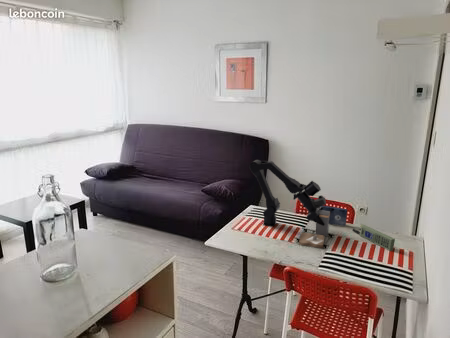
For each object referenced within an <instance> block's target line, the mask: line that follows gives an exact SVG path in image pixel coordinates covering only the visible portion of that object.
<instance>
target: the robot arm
mask: <svg viewBox="0 0 450 338" xmlns="http://www.w3.org/2000/svg"><path fill="white" fill-rule="evenodd" d="M249 170H250V171H251V173H252V174H253V175H254V177H255V178H256V180H257V182H258V184H259V187H260V190H261V191H262V194H263V196H264V198H265V206H266V209H265V210H264V211H263V212H262V214H263V223H262V225H263V226H269V227H275V225H276V224H277V216H276V213H277V212H278V210H279V209H280V207H281V203H280V201H279V198H278V197H275V196H274V195H273V192H272V190H271V188H270V185H269V183H268V181H267V179H266V176H265V171H264V170H269V172H271V173H272V174H273V175H274V176H276V177H277V179H279V180H280V181H281V182H282V183H283V184H284V185H285V188H286V189H287V190H288V191H289V193H291V194H293V198H292V199H293V200H294V201H295V200H296V199H298V201H299V203H301V204H302V207H303V209H304V208H305V210H307V213H308V214H307V215H306V220H307V221H308V222H310V221H311V222H314V223H315V224H316V223H318V224H320V225H322V226H324V225H325V224H324V222H323V221H322V219H321V218H320V213H318V211H319V210H323V206H326V204H327V201H326V197H325V196H323V195H321V194H320V195H318V198H316V199H315V198H313V197H314V196H315V195H316V194H318V193H319V192H321V190H322V189H321V187H320V185H319V184H318V183H316V182H315V181H314V180H311V181H310V182H308V183H307V184H303V183H300V181H298V180H296V179H295V178H292V177H290V176H289V175H288V174H287V173H286V172H285V171H283V170H282V169H281V168H280V167H279V166H278V165H277V164H275V162H274V161H272V160H270V161H267V160H260V159H255V160H253V161H252V162H250V163H249ZM320 206H322V207H320Z"/></svg>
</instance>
